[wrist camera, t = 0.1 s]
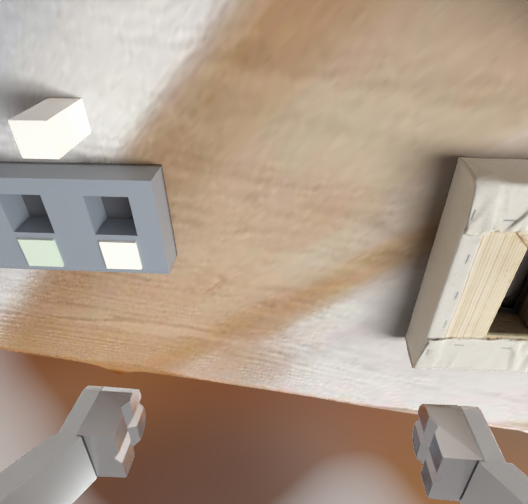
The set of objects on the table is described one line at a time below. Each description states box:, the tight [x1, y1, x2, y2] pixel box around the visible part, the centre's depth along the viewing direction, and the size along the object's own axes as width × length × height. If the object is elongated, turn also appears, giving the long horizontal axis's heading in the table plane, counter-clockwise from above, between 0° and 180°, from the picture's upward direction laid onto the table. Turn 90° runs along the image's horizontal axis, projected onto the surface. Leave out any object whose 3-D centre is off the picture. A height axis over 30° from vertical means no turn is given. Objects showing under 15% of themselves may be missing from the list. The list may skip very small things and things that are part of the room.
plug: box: [8, 98, 91, 159], centre depth 43 cm, size 4×4×8 cm
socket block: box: [0, 162, 177, 274], centre depth 53 cm, size 14×34×5 cm, turn 91°
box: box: [405, 157, 528, 373], centre depth 52 cm, size 23×8×32 cm
